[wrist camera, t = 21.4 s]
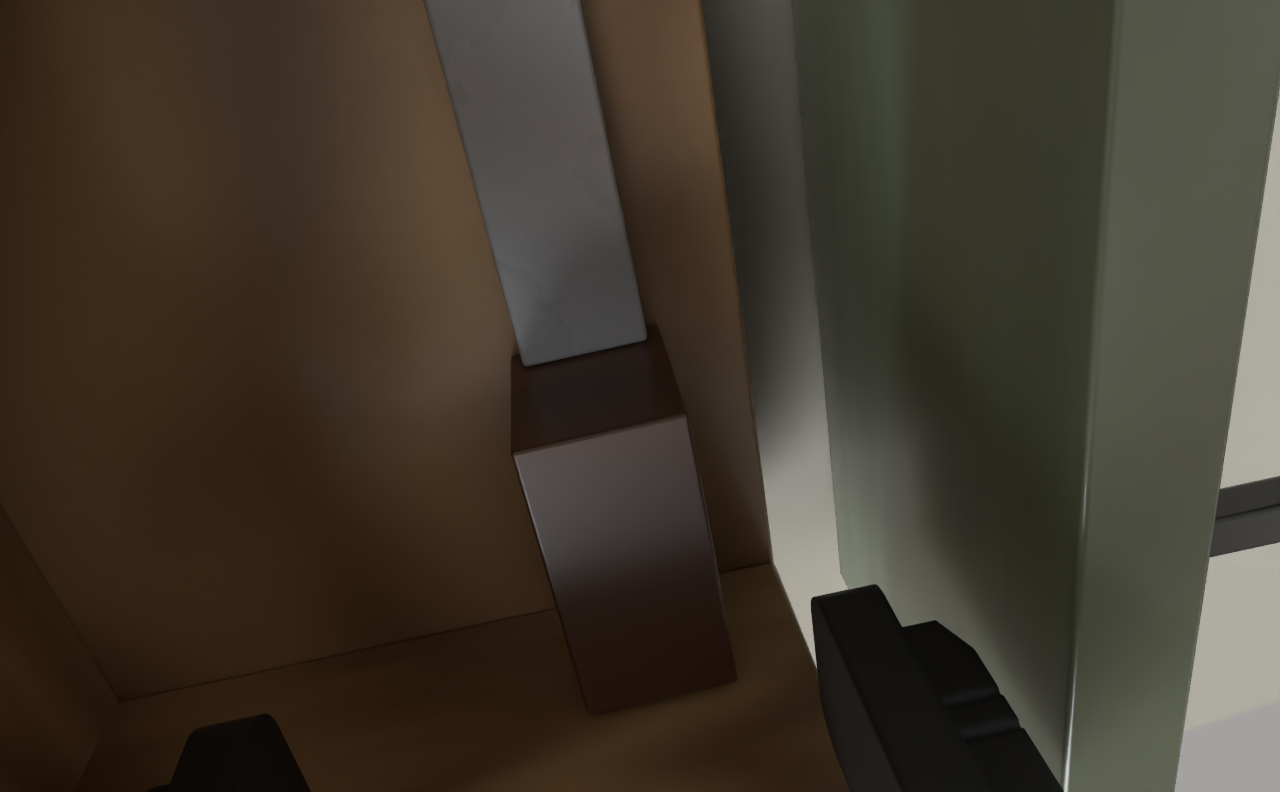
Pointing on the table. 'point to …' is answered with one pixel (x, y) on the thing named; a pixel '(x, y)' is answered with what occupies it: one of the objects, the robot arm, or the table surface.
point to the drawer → (698, 351)
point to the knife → (584, 360)
